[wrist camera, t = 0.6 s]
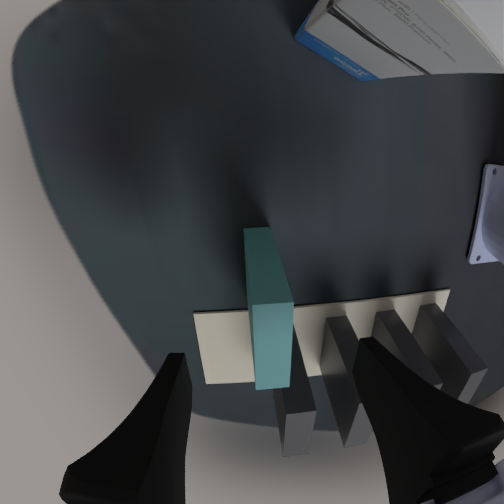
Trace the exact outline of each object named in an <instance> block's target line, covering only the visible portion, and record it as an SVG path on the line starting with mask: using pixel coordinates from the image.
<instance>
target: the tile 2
mask: <svg viewBox="0 0 504 504" xmlns="http://www.w3.org/2000/svg"><path fill="white" fill-rule="evenodd" d="M273 394H274V401H275V408H276V414H277V421H278V428H279V434H280V441H281V448H282V455H283V457H287V456H295V455H303V454H308V451H309V446H310V441H311V437H312V432H313V427H314V422H315V416H316V411H317V410H316V407H315V403H314V399H313V395H312V391H311V387H310V384H309V380H308V376H307V372H306V368H305V365H304V361H303V357H302V353H301V350H300V346H299V342H298V339H297V335H296V331H295V327H294V324H293V334H292V353H291V370H290V386H289V387H284V388H273Z"/></svg>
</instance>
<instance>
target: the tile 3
mask: <svg viewBox="0 0 504 504" xmlns="http://www.w3.org/2000/svg"><path fill="white" fill-rule="evenodd" d="M358 344H359V340H358V338H357V336H356V333H355V331H354V329H353V327H352V325H351V323H350V321H349V319H348V317H347V315H346V316H337V317H327V318H325V327H324V335H323V343H322V351H321V358H320V365H319V367H320V370H321V373H322V376H323V380H324V383H325V386H326V389H327V393H328V396H329V399H330V402H331V406H332V409H333V412H334V416H335V419H336V422H337V426H338V429H339V433H340V436H341V439H342V443H343V446H344V448H345V447H350V446H355V445H360V444H365V443H367V441H368V439H369V437H370V435H371V432H372V430H373V428H372V426H371V423H370V421H369V418H368V416H367V414H366V411H365V409H364V407H363V404H362V402H361V399H360V397H359V394H358V392H357V388H356V385H355V381H354V377H353V373H352V370H353V366H354V362H355V357H356V353H357V348H358Z"/></svg>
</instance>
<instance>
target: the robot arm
mask: <svg viewBox="0 0 504 504" xmlns="http://www.w3.org/2000/svg"><path fill="white" fill-rule="evenodd" d="M493 170H494V172H493ZM477 256H478V257H477ZM467 260H468V262H469V263H471V264H477V263H486V262H494V261H500V262H501V263H503V264H504V166H501V165H494V164H486V165H485V167H484V170H483V178H482V186H481V193H480V199H479V205H478V211H477V216H476V222H475V227H474V231H473V236H472V241H471V245H470V249H469V254H468V259H467ZM352 373H353V377H354V381H355V385H356V388H357V392H358V394H359V397H360V399H361V402H362V404H363V407H364V409H365V411H366V414H367V416H368V418H369V421H370V423H371V426H372V428H373V431H374V433H375V436H376V439H377V443H378V446H379V450H380V454H381V458H382V462H383V467H384V472H385V477H386V483H387V488H388V495H389V503H390V504H504V459H503V460H501V461H500V462H498V463H497V464H496V465H494V464H493V462H492V461H493V460H494V459H495V456H494V454H493V451H494V449H495V448H496V447H497V446H498V445H499V444H500V443H501V441H502V440H503V439H504V422H503V420H502V418H501V417H500V415H499V414H496V413H493V412H489V411H485V410H482V409H479V408H477V407H474V406H471V405H469V404H466V403H464V402H462V401H460V400H458V399H456V398H454V397H452V396H450V395H448V394H446V393H444V392H442V391H441V390H439V389H438V388H436V387H434V386H433V385H431V384H430V383H428V382H427V381H425V380H424V379H422V378H421V377H420V376H418V375H417V374H416V373H414V372H413V371H412V370H411V369H409V368H408V367H407V366H406V365H405V364H403V363H402V362H401V361H400V360H399V359H398V358H396V357H395V356H394V355H393V354H392V353H391V352H390V351H389V350H387V349H386V348H385V347H384V346H383V345H382V344H381V343H380V342H379V341H378V340H376V339H375V338H374V337H373V336H371V337H365V338H360V339H359V344H358V348H357V353H356V357H355V362H354V366H353V370H352ZM191 409H192V383H191V379H190V375H189V371H188V366H187V362H186V358H185V353H169V354H168V355H167V357H166V359H165V361H164V363H163V365H162V367H161V368H160V370H159V372H158V374H157V375H156V377H155V379H154V380H153V382H152V383H151V385H150V386H149V388H148V390H147V391H146V393H145V394H144V395H143V397H142V398H141V399H140V401H139V402H138V404H137V405H136V406H135V408H134V409H133V410H132V411H131V413H130V414H129V415H128V416H127V417H126V419H125V420H124V421H123V422H122V423H121V424H120V425H119V426H118V427H117V428H116V429H115V430H114V431H113V432H112V433H111V434H110V435H109V436H108V437H107V438H106V439H105V440H103V441H102V442H101V443H100V444H99V445H97V446H96V447H95V448H94V449H92V450H91V451H90V452H89V453H87V454H86V455H84V456H83V457H81V458H80V459H78V460H77V461H75V462H74V463H72V464H70V465H69V466H68V467H67V470H66V472H65V474H64V477H63V481H62V484H61V488H60V493H59V495H60V497H61V499H62V500H63V501H64V502H66V503H67V504H185V454H186V445H187V438H188V431H189V423H190V417H191Z"/></svg>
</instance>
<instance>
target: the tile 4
mask: <svg viewBox="0 0 504 504" xmlns="http://www.w3.org/2000/svg"><path fill="white" fill-rule="evenodd" d="M371 336H373V337H374V338H375V339H376V340H378V341H379V342H380V343H381V344H382V345H383V346H384V347H385V348H386V349H387V350H389V351H390V352H391V353H392V354H393V355H394V356H395V357H396V358H398V359H399V360H400V361H401V362H402V363H403V364H405V365H406V366H407V367H408V368H409V369H411V370H412V371H413V372H414V373H416V374H417V375H418V376H420V377H421V378H422V379H424V380H425V381H427V382H428V383H430V384H431V385H433V386H434V387H436V388H438V389H439V390H440V389H441V387H442V385H443V382H442V381H441V379H440V377H439V376H438V374H437V372H436V371H435V369H434V368H433V366H432V365H431V363H430V361H429V360H428V358H427V357H426V355H425V354H424V352H423V351H422V349H421V348H420V346H419V344H418V343H417V341H416V340H415V338H414V337H413V335H412V334H411V332H410V331H409V330H408V328H407V327H406V325H405V324H404V322H403V321H402V319H401V318H400V316H399V315H398V313H397V312H396V311H395V309H393V310H386V311H378V312H376V315H375V320H374V324H373V329H372V333H371Z"/></svg>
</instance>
